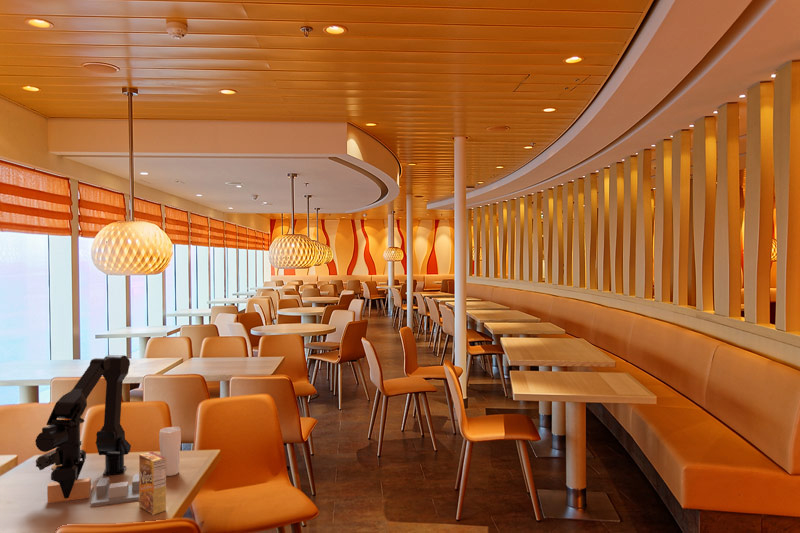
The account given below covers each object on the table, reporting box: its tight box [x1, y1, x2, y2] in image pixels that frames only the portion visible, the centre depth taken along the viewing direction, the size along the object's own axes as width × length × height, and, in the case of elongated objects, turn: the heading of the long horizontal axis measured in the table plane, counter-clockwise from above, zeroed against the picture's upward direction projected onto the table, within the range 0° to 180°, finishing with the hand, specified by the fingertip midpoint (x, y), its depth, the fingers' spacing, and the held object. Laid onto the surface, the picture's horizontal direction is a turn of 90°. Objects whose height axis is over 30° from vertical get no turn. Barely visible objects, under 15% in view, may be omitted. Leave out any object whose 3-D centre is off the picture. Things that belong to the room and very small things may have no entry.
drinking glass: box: [158, 426, 182, 477], centre depth 193 cm, size 7×7×15 cm
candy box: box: [138, 451, 167, 516], centre depth 165 cm, size 9×4×15 cm, turn 50°
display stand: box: [90, 473, 139, 508], centre depth 175 cm, size 12×14×4 cm
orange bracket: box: [46, 477, 94, 504], centre depth 175 cm, size 8×11×5 cm
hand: (69, 492), depth 173 cm, fingers open, 9 cm apart
